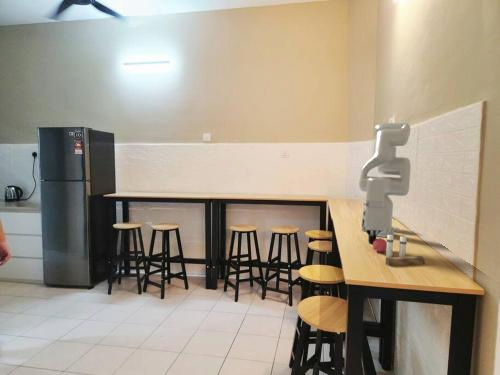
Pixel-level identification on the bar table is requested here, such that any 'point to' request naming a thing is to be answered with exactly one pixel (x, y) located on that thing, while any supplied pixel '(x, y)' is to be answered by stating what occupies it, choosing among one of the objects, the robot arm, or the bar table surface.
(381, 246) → the ball
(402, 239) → the rear pin
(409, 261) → the wall
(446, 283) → the bar table surface
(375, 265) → the bar table surface
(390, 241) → the front pin
